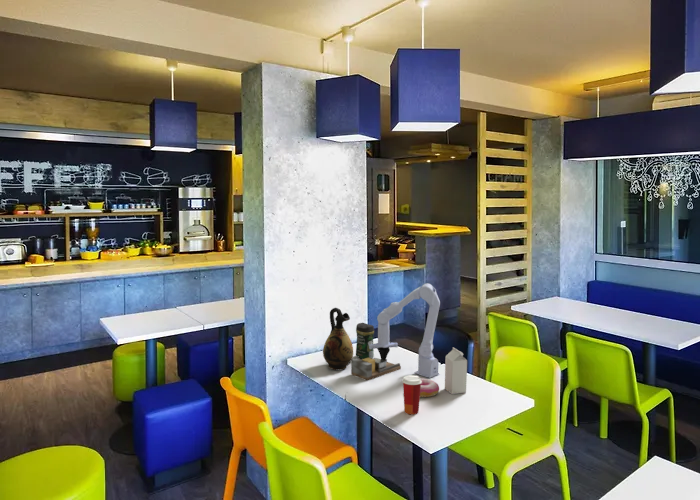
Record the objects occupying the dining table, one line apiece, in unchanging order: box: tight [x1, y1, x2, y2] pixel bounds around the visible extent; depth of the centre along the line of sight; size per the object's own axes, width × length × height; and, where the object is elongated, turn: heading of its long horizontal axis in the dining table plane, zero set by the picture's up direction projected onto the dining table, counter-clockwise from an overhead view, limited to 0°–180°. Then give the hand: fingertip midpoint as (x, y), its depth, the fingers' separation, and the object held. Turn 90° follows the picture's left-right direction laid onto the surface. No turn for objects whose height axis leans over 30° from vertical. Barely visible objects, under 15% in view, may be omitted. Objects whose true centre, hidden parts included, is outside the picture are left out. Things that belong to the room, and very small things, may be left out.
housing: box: [361, 358, 375, 372], centre depth 250 cm, size 4×4×6 cm
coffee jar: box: [355, 322, 375, 360], centre depth 276 cm, size 10×8×19 cm
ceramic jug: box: [322, 307, 354, 371], centre depth 260 cm, size 17×15×30 cm
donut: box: [420, 377, 440, 398], centre depth 227 cm, size 14×13×5 cm
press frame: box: [350, 358, 402, 381], centre depth 253 cm, size 11×24×8 cm, turn 134°
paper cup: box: [401, 374, 422, 416], centre depth 206 cm, size 8×8×14 cm
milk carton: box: [444, 347, 468, 395], centre depth 229 cm, size 7×7×19 cm
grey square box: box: [373, 357, 386, 370], centre depth 254 cm, size 7×6×4 cm
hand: (383, 361), depth 257 cm, fingers closed
